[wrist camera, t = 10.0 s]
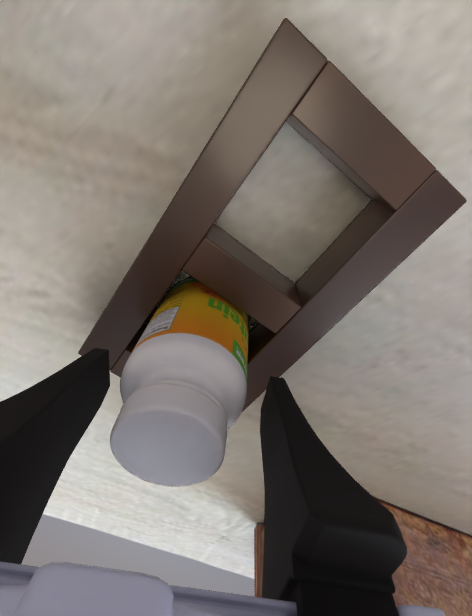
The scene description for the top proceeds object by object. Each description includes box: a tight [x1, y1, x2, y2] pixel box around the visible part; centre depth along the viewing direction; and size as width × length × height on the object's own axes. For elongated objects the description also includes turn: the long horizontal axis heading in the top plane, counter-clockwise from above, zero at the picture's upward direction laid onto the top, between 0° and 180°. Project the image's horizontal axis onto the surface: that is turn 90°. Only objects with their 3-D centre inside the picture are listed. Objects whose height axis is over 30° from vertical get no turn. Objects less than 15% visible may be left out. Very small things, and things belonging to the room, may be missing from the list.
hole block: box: [78, 18, 466, 413], centre depth 16 cm, size 10×18×3 cm, turn 143°
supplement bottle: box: [110, 277, 249, 486], centre depth 15 cm, size 5×5×10 cm
